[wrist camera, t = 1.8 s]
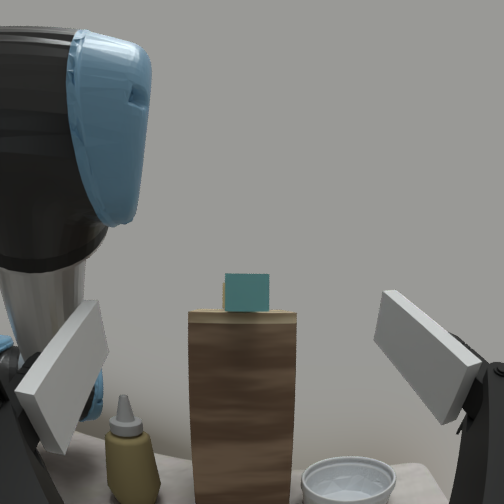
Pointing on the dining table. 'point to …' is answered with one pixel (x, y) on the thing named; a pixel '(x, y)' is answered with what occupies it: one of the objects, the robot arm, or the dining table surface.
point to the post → (242, 405)
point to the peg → (246, 292)
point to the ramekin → (348, 481)
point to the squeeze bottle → (130, 458)
